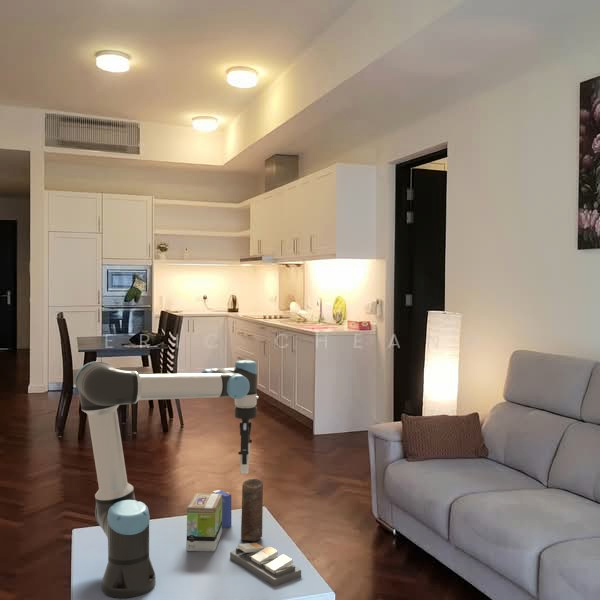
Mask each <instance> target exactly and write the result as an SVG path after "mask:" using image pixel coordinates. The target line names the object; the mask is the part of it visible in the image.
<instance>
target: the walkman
mask: <svg viewBox="0 0 600 600" xmlns="http://www.w3.org/2000/svg"><path fill="white" fill-rule="evenodd" d="M211 494H222V528H225V529H227V528H231V527H232V494H231V493H230V492H228V491H227V492H226V491H223V490H220V489H217V490H213V491H212V493H211Z"/></svg>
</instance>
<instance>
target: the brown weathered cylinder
mask: <svg viewBox="0 0 600 600" xmlns="http://www.w3.org/2000/svg"><path fill="white" fill-rule="evenodd" d="M241 486H242V487H241V488H242V489H241V520H240V523H241V524H240V525H241V526H240V539H241V540H243V541H249V542H255V541H259V540H260V539H261V538H263V512H264V511H263V507H264V506H263V505H264V504H263V503H264V502H263V501H264V500H263V499H264V481H262V480H260V479H257V478H249V479H246V480H245V481H243V483H242V485H241Z"/></svg>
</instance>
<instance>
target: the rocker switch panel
mask: <svg viewBox="0 0 600 600" xmlns="http://www.w3.org/2000/svg"><path fill="white" fill-rule="evenodd" d="M262 550H263V549H262ZM260 551H261V550H259V551H256V552H248V553H246V552H244V551H242V550H240V549H239V548H238V547H235V550H233V551H230V553H229V557H230V558H229V559H231V560H232V561H234V562H236V563H237V564H238V563H239V564H238V565H241V566H242V567H243V568H245V569H246V570H248V571H249V572H251V573H253V574H254V575H256V576H258V577H259V578H260V579H262V580H264V581H265V582H267V583H269V584H270V585H272V586H274V587H276V586H279V585H283V584H284V583H287V582H290V581H292V580H295V579H298V578H301V577H302V569H300V568H299V567H297V566H296V565H294V564H293V563H292V564H290V565H289V566H287V567H285V568H284V569H281V570H278V571H276V572H275V574H274V573H272V572H270V571H269V570H267V569H266V568H265V565H266V564H268V563H269V562H271V561H273V560H274V559H276V558H278V557H279V556H278V555H276V556H275V557H273V558H271V559H270V560H267V561H264V562H262V563H260V565H259V564H257V563H256V562H254V561H252V559H251V556H253V555H255V554H256V553H258V552H260Z"/></svg>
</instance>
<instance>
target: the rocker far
mask: <svg viewBox="0 0 600 600" xmlns="http://www.w3.org/2000/svg"><path fill="white" fill-rule="evenodd" d="M237 548H239V549H240V550H242V551H244V552H246V553H248V552H256V551H259V550H262V549H265V547H264V546H262V545H261V544H259V543H257V542H251V543H238V545H237Z"/></svg>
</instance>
